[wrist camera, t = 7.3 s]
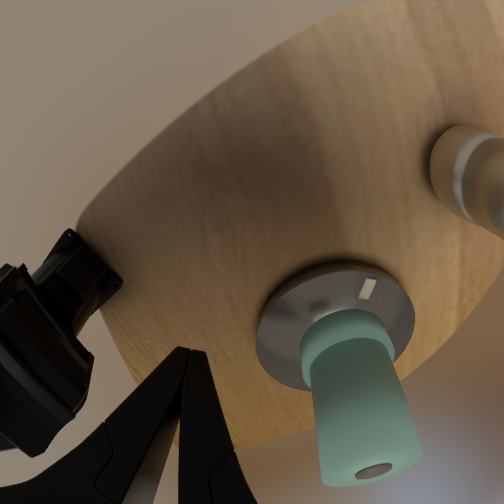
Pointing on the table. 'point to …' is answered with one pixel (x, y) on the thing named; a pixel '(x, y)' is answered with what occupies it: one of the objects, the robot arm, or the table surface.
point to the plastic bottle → (471, 175)
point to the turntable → (324, 303)
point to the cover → (357, 400)
